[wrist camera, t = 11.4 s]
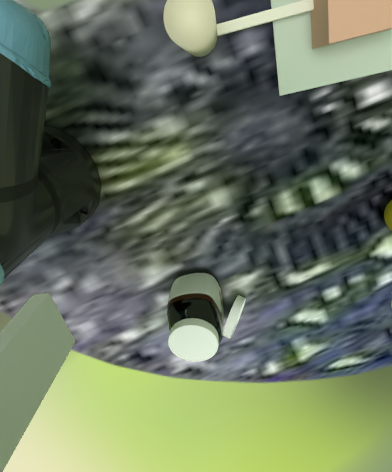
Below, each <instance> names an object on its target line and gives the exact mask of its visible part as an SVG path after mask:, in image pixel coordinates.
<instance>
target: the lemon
mask: <svg viewBox="0 0 392 472" xmlns="http://www.w3.org/2000/svg"><path fill="white" fill-rule="evenodd" d="M384 219H385V222H386V225H387V226H388V227H389V229H390V230H391V231H392V200H391V201H390V202H389V203H388V204H387V206H386V208H385V211H384Z"/></svg>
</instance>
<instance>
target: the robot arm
mask: <svg viewBox="0 0 392 472" xmlns="http://www.w3.org/2000/svg"><path fill="white" fill-rule="evenodd" d="M50 49H51V41H50V36H49V33H48V30H47V28H46V26H45V25H44V23H43V22H42V21H41V20H40V18H39V17H38V16H37V15H36V14H34V13H33V12H32V11H30V10H29V9H27V8H25V7H24V6H22V5H20V4H19V3H17V2H15V1H13V0H0V284H1V283H2V282H3V280H4V278H5V277H6V276H7V275H8V274H9V273H11V272H12V271H13V270H14V269H15V268H16V267H17V266H18V265H19V264H20V263H21V262H22V261H23V260H25V259H26V258H27V257H28V256H29V255H30V254H31V253H32V252H33V251H34V250H35V249H36V248H37V247H39V246H40V245H41V244H42V243H43V242H44V241H45V240H46V239H47V238H48V237H49V236H52V235H55V234H59V233H62V232H66V231H69V230H72V229H74V228H76V227H78V226H79V225H81V224H82V223H83V222H84V221H85V220H86V219H87V218H88V217H89V216H90V215H91V214H92V213H93V212H94V210H95V208H96V207H97V204H98V202H99V198H100V190H101V186H100V178H99V174H98V171H97V168H96V166H95V164H94V162H93V160H92V158H91V156H90V155H89V154H88V152H87V151H86V150H85V148H84V147H83V146H82V145H81V144H80V143H79V142H78V141H77V140H75V139H74V138H73V137H71V136H70V135H68V134H67V133H65V132H63V131H61V130H59V129H57V128H54V127H51V126H47V125H44V123H45V114H46V106H47V97H48V88H51V81H50V79H49V66H50ZM391 307H392V303H391ZM74 343H75V340H74V338H73V336H72V334H71V332H70V331H69V329H68V327H67V325H66V323H65V321H64V319H63V318H62V316H61V314H60V312H59V310H58V308H57V306H56V305H55V303H54V301H53V299H52V297H51V295H50V294H49V293H45V294H38V295H32V297H31V298H30V299H29V300H28V301H27V302H26V303H25V305H24V306H23V307H22V308H21V309H20V310H19V311H18V313H17V314H16V315H15V316H14V317H13V318H12V319H11V321H10V322H9V323H8V324H7V325H6V326H5V327H4V329H3V330H2V331H1V332H0V472H3V470H4V468H5V466H6V464H7V463H8V461H9V459H10V457H11V456H12V454H13V452H14V450H15V448H16V447H17V445H18V443H19V441H20V439H21V438H22V436H23V434H24V432H25V431H26V429H27V427H28V425H29V423H30V421H31V420H32V418H33V416H34V414H35V412H36V411H37V409H38V407H39V406H40V404H41V402H42V400H43V398H44V396H45V395H46V393H47V391H48V389H49V388H50V386H51V384H52V382H53V381H54V379H55V377H56V375H57V373H58V372H59V370H60V368H61V366H62V364H63V363H64V361H65V359H66V357H67V356H68V354H69V352H70V350H71V348H72V347H73V345H74Z"/></svg>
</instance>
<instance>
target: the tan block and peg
mask: <svg viewBox="0 0 392 472" xmlns="http://www.w3.org/2000/svg"><path fill="white" fill-rule="evenodd" d="M309 11H311V28H312V49H315V48H319V47H323V46H327V45H330V44H334V43H338V42H342V41H346V40H350V39H354V38H358V37H362V36H366V35H370V34H374V33H378V32H382V31H386V30H390V29H392V0H302V1H299V2H295V3H291V4H288V5H284V6H281V7H277V8H274V9H270V10H266V11H263V12H259V13H256V14H252V15H249V16H245V17H241V18H238V19H234V20H231V21H227V22H224V23H220V24H216V18H215V10H214V6H213V3H212V1H211V0H167V2H166V5H165V8H164V25H165V29H166V31H167V33H168V35H169V37H170V38H171V39H172V40H173V41H174V42H175V43H176V44H177V45H179V46H180V47H181V48H183V49H184V50H186V51H187V52H188V53H190V54H191V55H193V56H196V57H203V56H206V55H208V54H209V53H210V52H212V50H213V49H214V47H215V45H216V43H217V37H218V36H221V35H225V34H228V33H232V32H236V31H239V30H243V29H247V28H250V27H254V26H258V25H261V24H265V23H269V22H272V21H276V20H280V19H283V18H287V17H291V16H294V15H298V14H302V13H305V12H309ZM217 33H218V34H217Z"/></svg>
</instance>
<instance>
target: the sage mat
mask: <svg viewBox="0 0 392 472" xmlns="http://www.w3.org/2000/svg"><path fill="white" fill-rule="evenodd" d="M299 1H302V0H271V9H274V8H277V7H281V6H284V5H288V4H291V3H295V2H299ZM273 31H274V42H275V53H276V64H277V75H278V86H279V96H281V95H285V94H290V93H294V92H298V91H303V90H307V89H311V88H316V87H320V86H324V85H329V84H333V83H337V82H342V81H346V80H350V79H355V78H359V77H363V76H367V75H372V74H376V73H380V72H385V71H389V70H392V29H390V30H386V31H382V32H378V33H374V34H370V35H366V36H362V37H358V38H354V39H350V40H346V41H342V42H338V43H334V44H330V45H327V46H323V47H319V48H315V49H312V28H311V11H309V12H305V13H302V14H298V15H294V16H291V17H287V18H283V19H280V20H276V21H273Z"/></svg>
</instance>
